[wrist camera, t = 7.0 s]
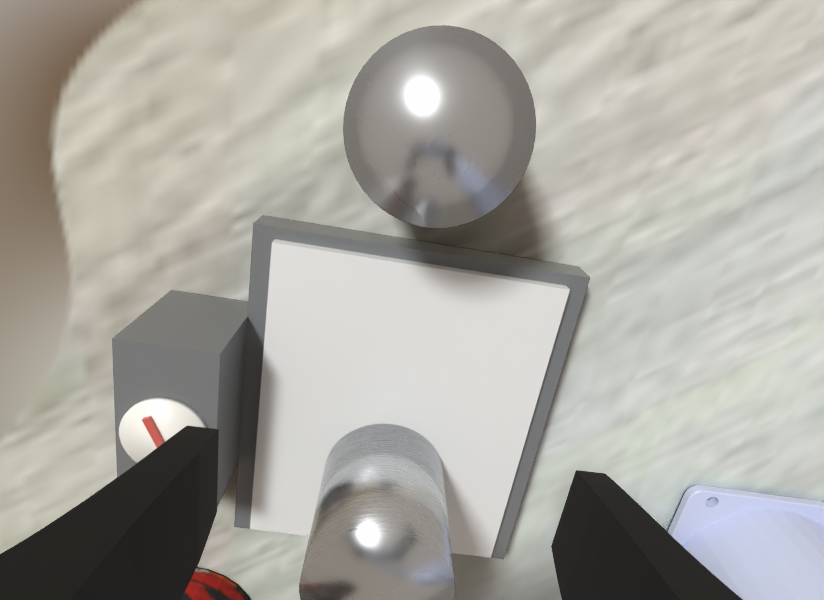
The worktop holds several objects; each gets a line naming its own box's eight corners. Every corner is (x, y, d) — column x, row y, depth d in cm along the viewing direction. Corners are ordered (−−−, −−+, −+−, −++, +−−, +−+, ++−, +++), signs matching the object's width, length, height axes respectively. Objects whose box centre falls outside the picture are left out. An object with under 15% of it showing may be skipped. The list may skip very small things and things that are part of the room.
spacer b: (513, 61, 16) (558, 45, 11) (482, 203, 18) (510, 241, 13) (371, 34, 16) (356, 7, 11) (352, 181, 17) (332, 211, 13)
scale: (578, 266, 18) (627, 313, 14) (498, 536, 23) (519, 630, 19) (171, 200, 17) (101, 231, 13) (169, 496, 22) (116, 586, 18)
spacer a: (462, 446, 19) (480, 559, 14) (415, 533, 21) (418, 661, 16) (348, 407, 18) (329, 512, 14) (308, 499, 20) (279, 622, 15)
